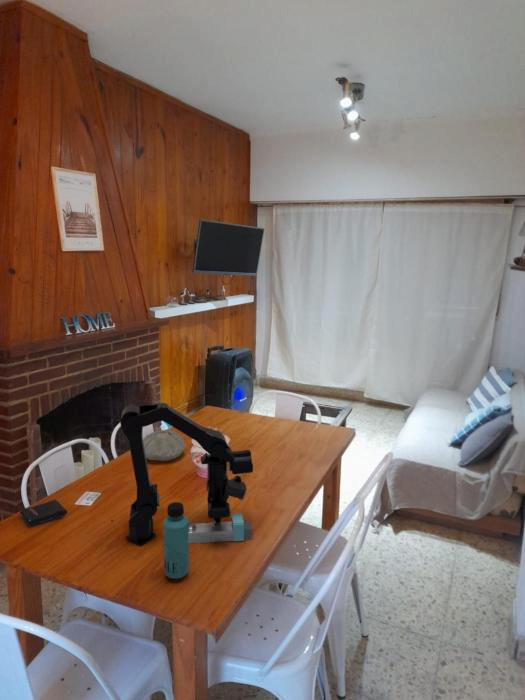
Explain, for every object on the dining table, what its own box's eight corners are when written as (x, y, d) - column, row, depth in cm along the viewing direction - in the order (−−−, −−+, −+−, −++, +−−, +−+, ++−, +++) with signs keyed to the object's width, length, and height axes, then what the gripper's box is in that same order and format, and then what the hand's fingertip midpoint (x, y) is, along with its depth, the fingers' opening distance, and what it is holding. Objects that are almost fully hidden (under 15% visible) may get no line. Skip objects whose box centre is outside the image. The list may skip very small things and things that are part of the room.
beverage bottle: (191, 567, 125) (190, 498, 121) (187, 584, 119) (187, 512, 115) (166, 567, 125) (164, 498, 121) (161, 584, 118) (160, 511, 114)
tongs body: (182, 544, 135) (182, 531, 134) (182, 535, 139) (182, 523, 139) (251, 539, 138) (252, 527, 137) (250, 531, 142) (250, 519, 141)
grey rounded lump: (173, 469, 182) (172, 444, 180) (131, 463, 187) (130, 439, 185) (191, 451, 199) (191, 428, 197) (153, 446, 204) (152, 423, 202)
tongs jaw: (189, 537, 138) (189, 528, 138) (189, 533, 141) (189, 524, 140) (250, 534, 141) (251, 524, 140) (249, 529, 143) (250, 520, 142)
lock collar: (233, 541, 136) (233, 525, 135) (231, 529, 142) (231, 513, 141) (243, 540, 137) (243, 524, 136) (241, 528, 143) (241, 513, 142)
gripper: (247, 488, 131) (248, 539, 134) (241, 460, 149) (241, 505, 152) (207, 491, 130) (208, 542, 133) (206, 461, 148) (207, 507, 151)
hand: (218, 523), depth 142 cm, fingers closed
